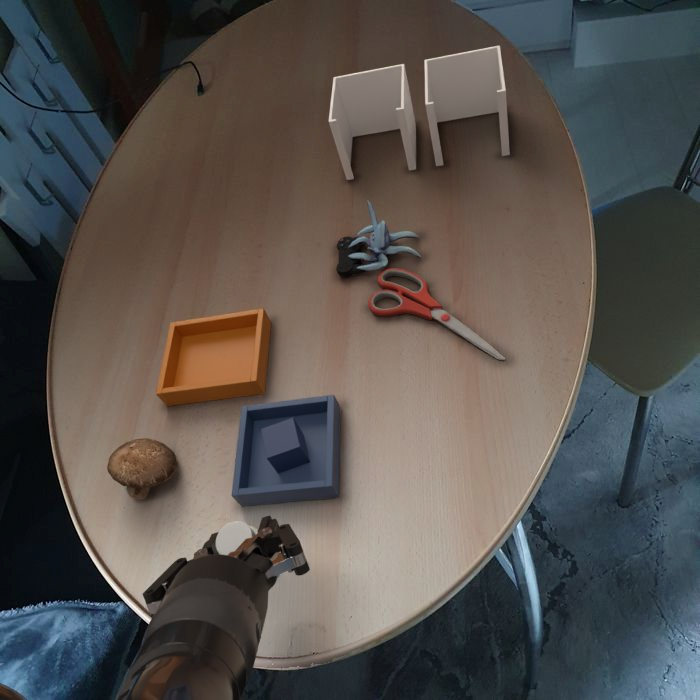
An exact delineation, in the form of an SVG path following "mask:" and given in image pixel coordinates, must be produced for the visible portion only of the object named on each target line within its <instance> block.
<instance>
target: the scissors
mask: <svg viewBox="0 0 700 700" xmlns="http://www.w3.org/2000/svg"><path fill="white" fill-rule="evenodd" d="M392 276H394V277H395V276H397V277H402V278H405V279H409V280H411V281H412V282H414V283H416V284H418V285H419V286H420V288H419V290H417V291H413V290H411V289H409V288H407V287H405V286H403V285H401V284H398V283H395V282H392V281H387V280H386V279H388V278H389V277H392ZM377 283H378V285H379V286H380V287H381V288H382V289H380V290H377V291H376V292H374V293H373V294H372V295H371V296H370V298H369V299H368V309H369V311H370V312H371V313H372V314H374V315H375V316H379V317H392V316H397V315H401V314H411V315H414V316H417V317H420V318H423V319H426V320H428V321H433V320H435V321H436V322H438V323H439V324H441V325H442V326H444V327H446V328H447V329H448V330H450V331H451V332H453V333H455V334H456V335H458V336H459V337H461V338H462V339H464V340H465V341H467V342H469V343H470V344H472V345H473V346H475V347H476V348H479V350H481V351H483V352H484V353H486V354H488V355H489V356H491V357H493V358H494V359H495V360H498V361H506V357H505V356H503V355H502V354H501V353H500V352H499V351H498V350H496V349H495V347H493V346H492V345H491V344H489V342H487V341H486V340H485V339H484V338H482V337H481V336H480V335H478V334H477V333H476V332H474V331H473V330H472V329H471V328H469V327H468V326H467V325H465V324H464V323H462V322H461V321H460V320H459V319H458V318H456V317H455V316H453V315H452V314H451V313H449V312H448V311H446V310H444V309H443V305H441V304H440V303H439V302H438V301H436V300H435V299H434V298H433V297H432V296H431V295H430V292H429V286H428V283H427V282H426V280H425V279H424V278H422V276H420V275H417V274H416V273H414V272H411V271H409V270H406V269H402V268H397V267H396V268H395V267H391V268H387V269H384V270H383V271H381V272H380V273H379V275H378V277H377ZM383 298H390V299H394V300H396V301H398V302H399V305H396V306H393V307H390V308H380V307H377V306H376V303H377V302H378V301H379V300H380V299H383Z"/></svg>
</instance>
